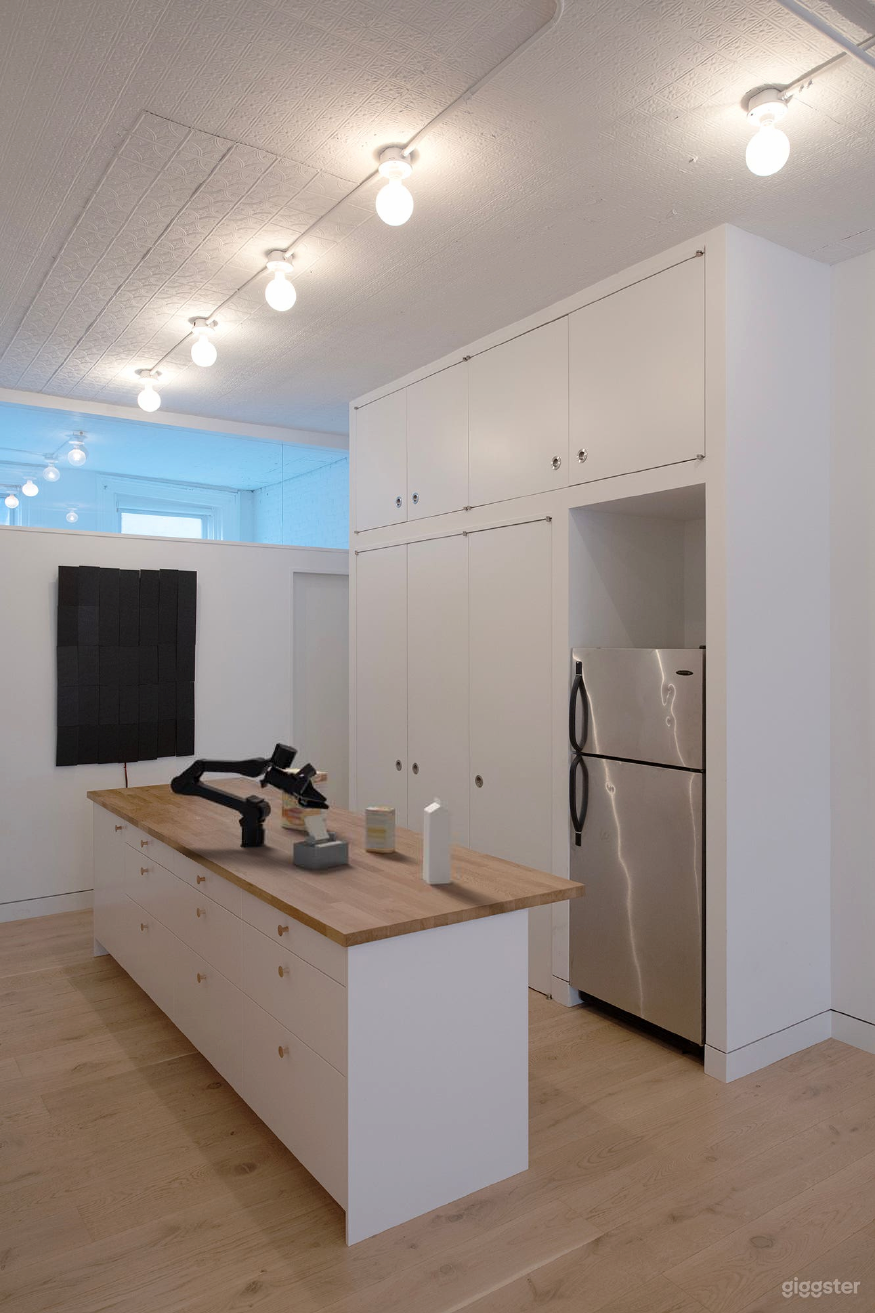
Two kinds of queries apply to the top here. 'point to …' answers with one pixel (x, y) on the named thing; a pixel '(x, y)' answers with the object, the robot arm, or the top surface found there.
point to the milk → (437, 844)
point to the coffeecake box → (293, 810)
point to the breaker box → (320, 852)
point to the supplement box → (380, 829)
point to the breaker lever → (315, 824)
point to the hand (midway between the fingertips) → (327, 804)
